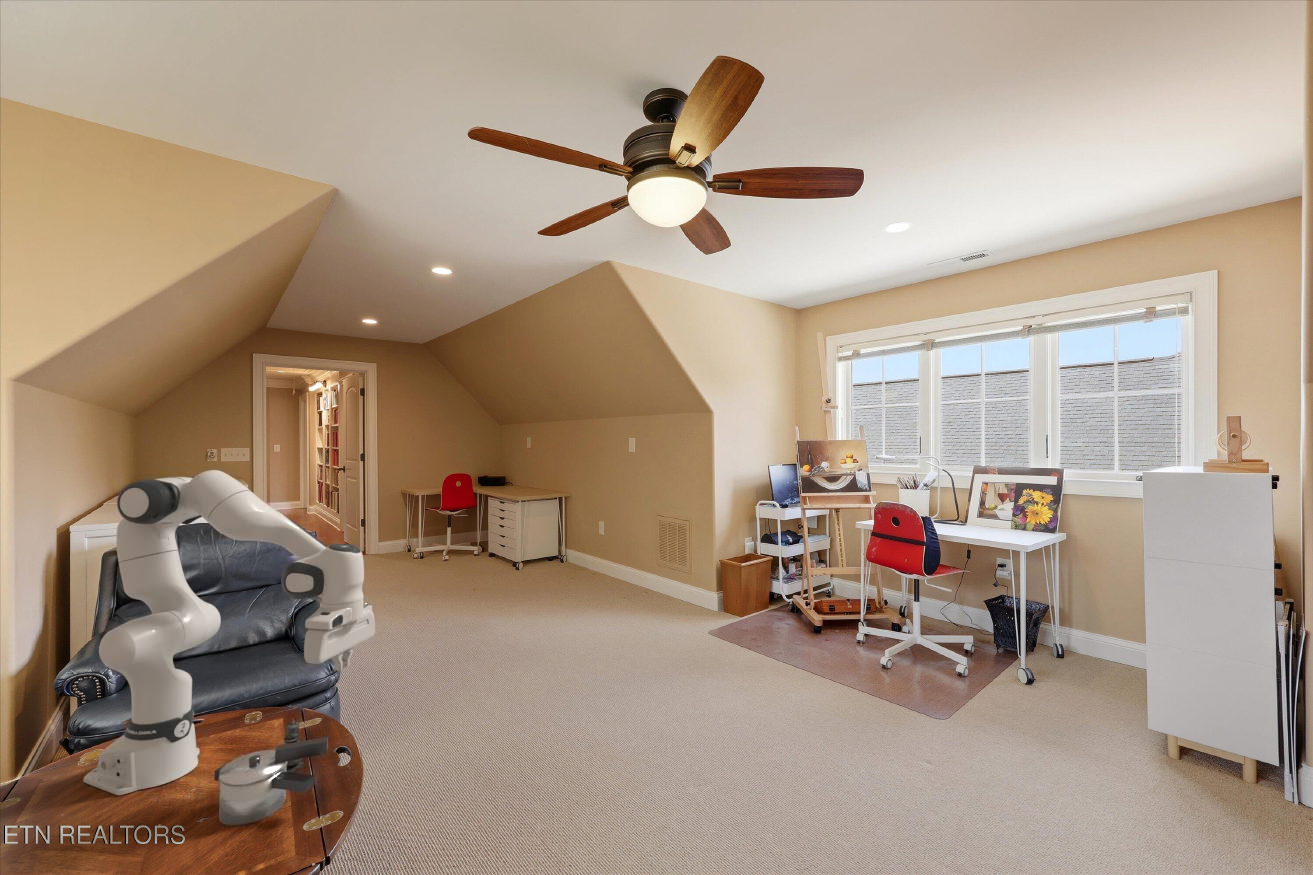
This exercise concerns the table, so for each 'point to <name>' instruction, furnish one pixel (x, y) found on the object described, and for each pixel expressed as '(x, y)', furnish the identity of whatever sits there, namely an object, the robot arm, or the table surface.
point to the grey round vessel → (293, 737)
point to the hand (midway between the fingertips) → (341, 668)
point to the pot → (258, 796)
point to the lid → (269, 762)
